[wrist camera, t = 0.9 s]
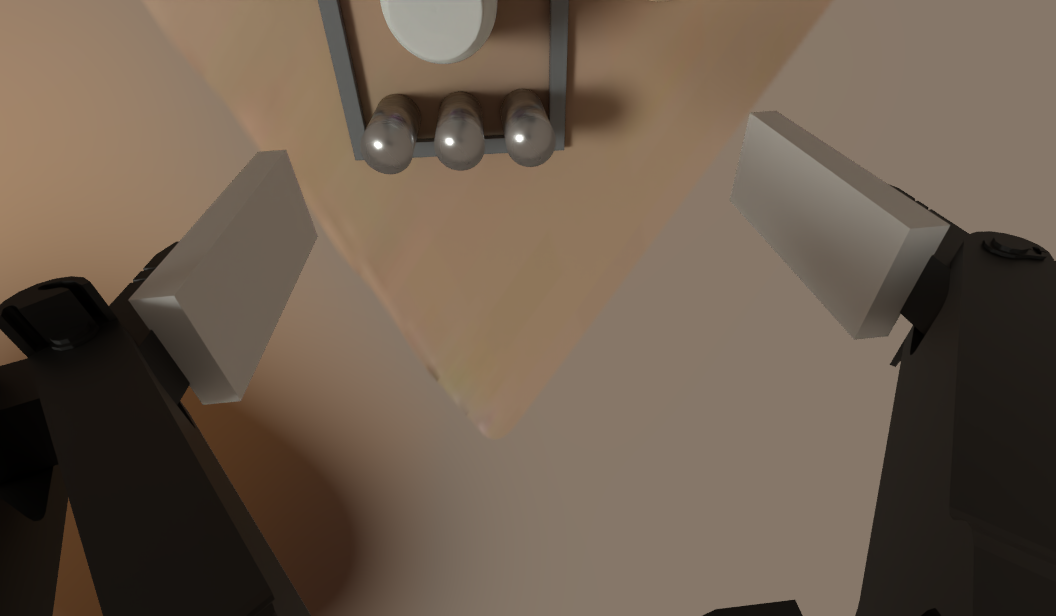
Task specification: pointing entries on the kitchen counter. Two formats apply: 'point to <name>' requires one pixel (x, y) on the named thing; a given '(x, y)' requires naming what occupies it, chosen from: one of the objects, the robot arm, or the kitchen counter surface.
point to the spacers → (457, 131)
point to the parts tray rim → (426, 146)
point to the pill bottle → (440, 27)
